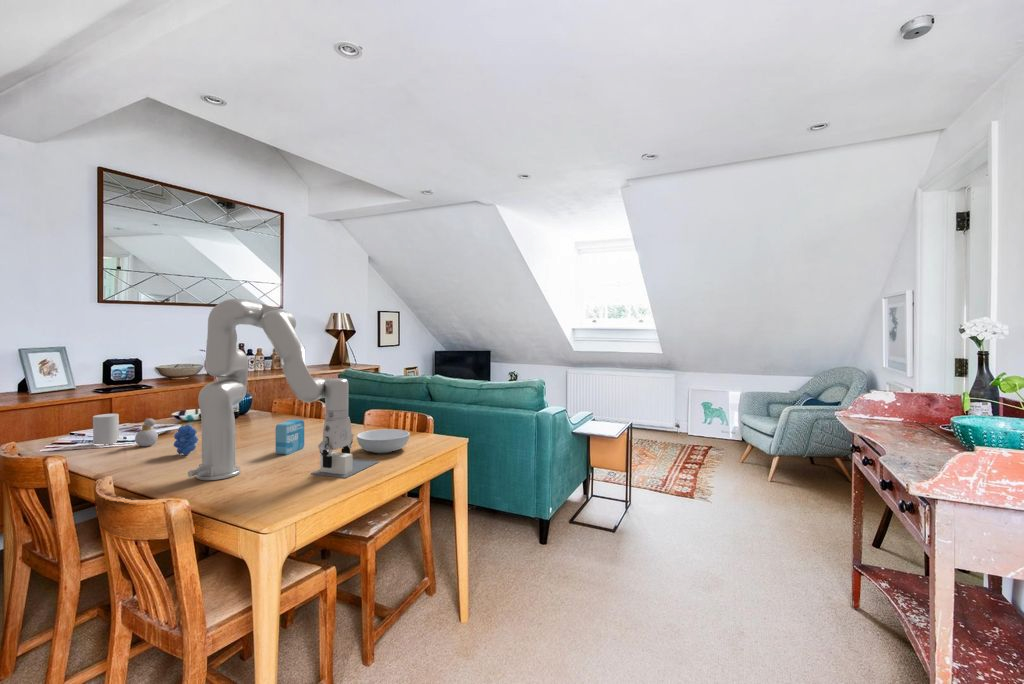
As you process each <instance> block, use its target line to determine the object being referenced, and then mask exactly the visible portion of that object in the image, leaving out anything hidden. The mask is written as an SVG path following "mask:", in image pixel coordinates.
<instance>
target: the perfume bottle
mask: <svg viewBox="0 0 1024 684" xmlns="http://www.w3.org/2000/svg"><path fill="white" fill-rule="evenodd" d="M155 424H156V420H155V419H154V418H148V417H146V418H145V419H144V421H143V424H141V426H142V427H141V430H139V431H138V432H137V433H136V434H135V437H134V441H135V443H136V445H138V446H139V447H151V446H153V445H154V444H156V443H157V441H158V439H159V434H158V432H157V431H156V430H155V429H153V428H152V427H153V426H154V425H155Z"/></svg>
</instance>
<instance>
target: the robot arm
mask: <svg viewBox="0 0 1024 684" xmlns="http://www.w3.org/2000/svg"><path fill="white" fill-rule="evenodd" d="M237 325H245V326H247V325H250V326H252V327H253V326H254V327H257V328H260V329H262V330H263V332H264V333H265V335H266V337H267V338H268V339H267V340H269V343H271V345H272V347H273V348H274V350H275V352H276V354H277V355H278V357H279V360H280V362H281V363H280V364H281V368H282V371H283V374H284V376H285V379H286V381H287V383H288V385H289V387H290V389H291V390H292V392H293V394H294V395H295V396H296V397H297V399H299V400H300V401H302V402H303V403H313V402H315V401H317V400H320V399H324V400H325V402H324V412H325V413H324V415H325V416H324V418H325V419H324V423H323V430H322V441H320V443H319V444H318V446H317V448H318V449H319V453H320V454H321V455H322V456H323V467H324V468H331V467H332V456H330V455H331V453H332V452H334V451H337V450H340V449H341V453H347V454H351V449H352V444H353V440H354V436H355V434H354V433H352V424H351V419H350V416H349V386H350V385H349V381H348V379H347V378H343V377H342V378H338V377H337V378H326V377H319V376H318V377H313V376H312V375H311V372H310V371H309V369H308V367H307V364H306V359H305V355H306V346H305V344H304V343H303V342H302V339H301V338H300V336H299V335H298V333H297V331H296V327H297V321H296V318H295V316H294V315H293V314H292V313H290V312H289V311H286V310H283V309H279V308H277V307H274V306H271V305H268V304H264V303H262V302H258V301H255V300H250V299H243V298H230V299H226V300H223V301H221V302H219V303H218V304H216V305H215V306H214V307H212V309H211V311H210V313H209V315H208V318H207V338H206V348H205V350H206V351H205V361H204V362H205V363H204V368H205V371H206V372H207V374H209V376H211V377H214V378H218V380H216V381H215V380H214V381H212V382H209V383H207V384H206V385H204V386H203V387H202V388H201V389H200V391H199V393H198V397H197V398H198V399H197V400H198V407H199V410H200V419H201V463H199V464H198V467H196V469H192V470H188V471H187V476H188V477H189V478H192V477H194V476H196V479H198V480H200V481H216V480H217V481H218V480H223V479H224V480H225V479H230V478H232V477H235V476H237V475H239V474H240V473H241V471H242V470H241V467H239V466H236V419H235V413H234V409H233V406H235V405H237V404H239V403H241V402H242V401H243V400H244V399H245V397H246V394H247V389H248V381H249V380H248V378H249V377H248V376H249V359H248V356H247V354H246V353H245V352H244V351H243V350H242V349H239V348H237V342H238V334H237V329H236V326H237Z"/></svg>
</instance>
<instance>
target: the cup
mask: <svg viewBox="0 0 1024 684" xmlns="http://www.w3.org/2000/svg"><path fill="white" fill-rule="evenodd" d="M119 416H120V415H119V413H103V414H96V415H93V416H92V439H93V440H92V441H93V442H92V444H93V443H94V444H104V445H106V444H113V443H116V442H117V439H118V438H119V439H120V420H119V419H120V417H119Z"/></svg>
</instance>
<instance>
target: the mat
mask: <svg viewBox="0 0 1024 684" xmlns="http://www.w3.org/2000/svg"><path fill="white" fill-rule="evenodd" d="M380 462H381V461H380V460H373V459H372V460H371V459H363V458H362V459H361V458H353V457H352V472H350V473H348V474H345V475H344V474H336V473H328V472H320V469H319V468H318V469H317V470H315V471H312V472H311V473H310V475H317V476H324V477H332V478H341V479H348V478H349V477H352V476H354V475H356V474H358V473H361V472H363V471H364V470H366V469H368V468H370V467H373V466H374V465H377V464H378V463H380Z"/></svg>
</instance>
